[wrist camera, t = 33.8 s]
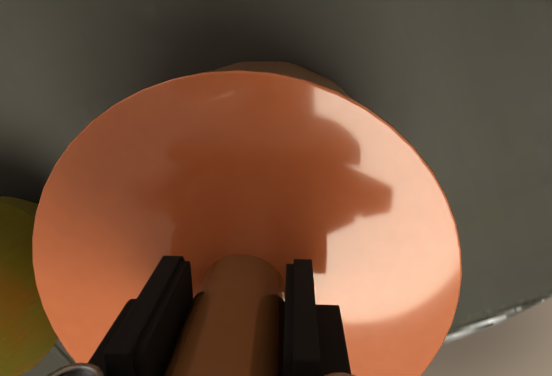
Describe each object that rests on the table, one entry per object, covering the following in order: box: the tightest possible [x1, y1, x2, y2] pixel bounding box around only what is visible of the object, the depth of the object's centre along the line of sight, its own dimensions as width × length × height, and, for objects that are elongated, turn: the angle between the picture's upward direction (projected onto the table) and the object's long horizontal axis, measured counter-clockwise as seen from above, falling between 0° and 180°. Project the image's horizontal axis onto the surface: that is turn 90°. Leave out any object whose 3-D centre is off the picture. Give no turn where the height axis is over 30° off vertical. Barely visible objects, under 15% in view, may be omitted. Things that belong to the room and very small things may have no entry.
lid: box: [32, 69, 462, 376], centre depth 11 cm, size 14×14×7 cm
